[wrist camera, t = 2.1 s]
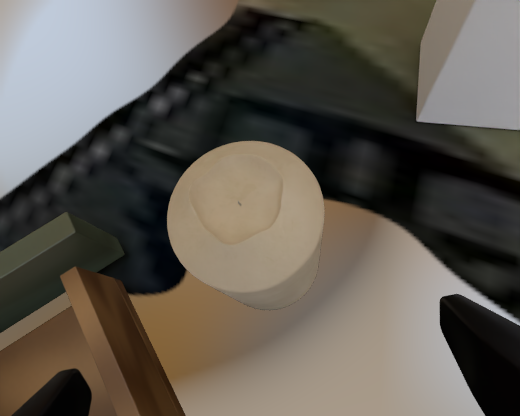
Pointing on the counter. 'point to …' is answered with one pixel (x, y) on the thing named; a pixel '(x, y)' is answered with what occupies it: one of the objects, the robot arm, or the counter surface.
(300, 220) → the candle
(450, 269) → the counter surface
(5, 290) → the drawer
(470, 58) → the milk
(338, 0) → the counter surface
